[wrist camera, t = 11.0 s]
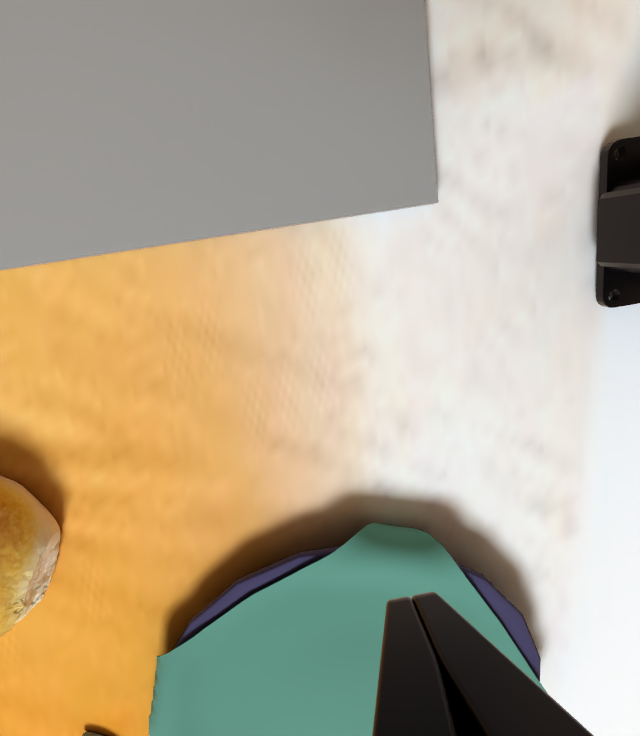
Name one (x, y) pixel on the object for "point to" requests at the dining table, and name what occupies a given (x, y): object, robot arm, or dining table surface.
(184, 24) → the slate board
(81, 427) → the dining table surface
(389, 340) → the dining table surface
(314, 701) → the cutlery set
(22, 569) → the bread roll
